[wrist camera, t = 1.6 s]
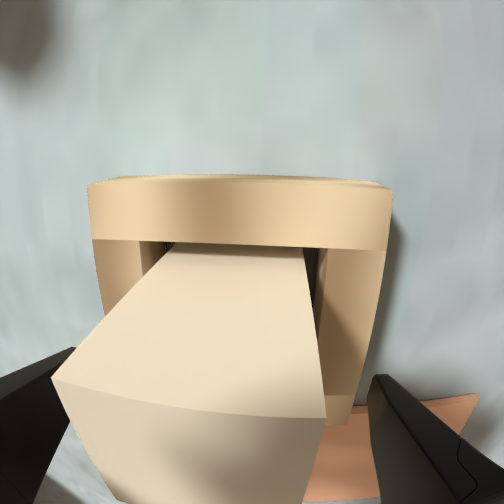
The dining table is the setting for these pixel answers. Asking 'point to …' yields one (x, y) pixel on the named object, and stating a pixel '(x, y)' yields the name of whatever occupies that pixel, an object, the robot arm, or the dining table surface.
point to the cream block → (203, 380)
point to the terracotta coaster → (366, 452)
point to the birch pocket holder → (259, 233)
